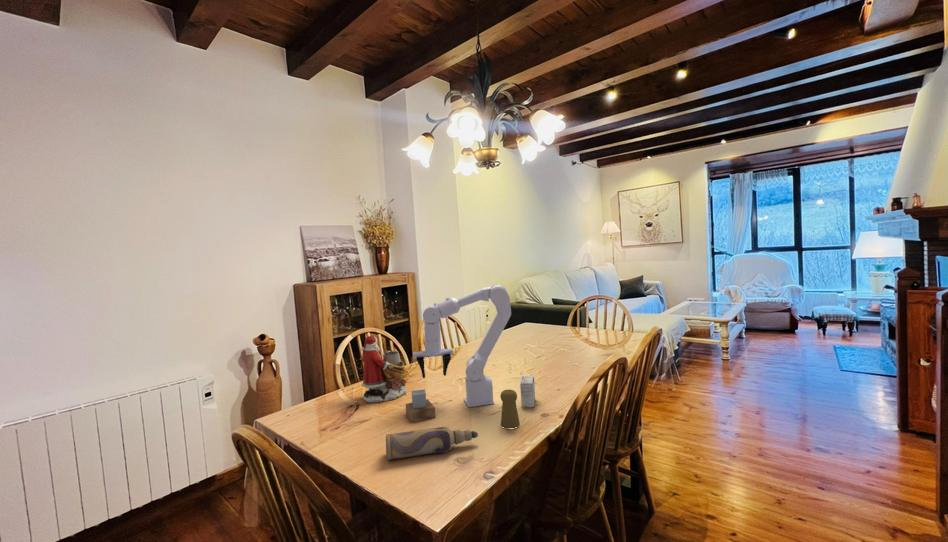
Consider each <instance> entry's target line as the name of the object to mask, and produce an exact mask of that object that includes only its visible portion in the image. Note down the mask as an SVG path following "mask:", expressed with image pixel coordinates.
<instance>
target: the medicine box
mask: <svg viewBox="0 0 948 542" xmlns="http://www.w3.org/2000/svg"><path fill="white" fill-rule="evenodd" d="M519 385H520V388H519V389H520V402H521V403H520V405H521V407H522V406H527V407H526V408H532V407H534V408H535V404H536V403H535V402H536V392H535V390H536V389H535V387H536V386H535V377H534V376H532V375H531V376H530V375H526V376H522V377H521V380H520V384H519ZM530 406H531V407H530Z"/></svg>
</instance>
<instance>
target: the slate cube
mask: <svg viewBox="0 0 948 542" xmlns="http://www.w3.org/2000/svg"><path fill="white" fill-rule="evenodd" d="M426 400H427V395H426V390H425V389H417V390H412V391H411V401H412V402H411V403H412V405H413V409H415V408H422V407H427V406H426Z"/></svg>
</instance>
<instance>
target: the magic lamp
mask: <svg viewBox="0 0 948 542" xmlns="http://www.w3.org/2000/svg"><path fill="white" fill-rule="evenodd" d="M410 359H411V362H410V365H409V367H408V368H404V369H403V371H404V372H403V374H402V376H401V382H403V383H404V382H406V381H407V380H405V378H406V377H408V376H410V373H411V372H412V371H414V370H415V369H416V368H417V367H418V363H417V362H416V361H415V360H416V359H413V356H411V357H410ZM413 363H414V364H415V365H416V366H415V367H414V368H412V369H411V367H413V366H412V365H413ZM410 369H411V370H410ZM409 370H410V371H409ZM406 383H407V382H406ZM404 384H405V383H404Z"/></svg>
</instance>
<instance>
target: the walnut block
mask: <svg viewBox="0 0 948 542" xmlns="http://www.w3.org/2000/svg"><path fill="white" fill-rule="evenodd" d="M426 406H427V407H422V408H415V409H413V405H412V402H409V403H405V414H406V416H407V418H408V419H409V421H410V422H411V424H414V423H419V422H423V421H426V420H427V421H428V420H432V419H436V407H435V406H434V405H433V404H432V402H431V401H430V400H429V399H427V398H426Z"/></svg>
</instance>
